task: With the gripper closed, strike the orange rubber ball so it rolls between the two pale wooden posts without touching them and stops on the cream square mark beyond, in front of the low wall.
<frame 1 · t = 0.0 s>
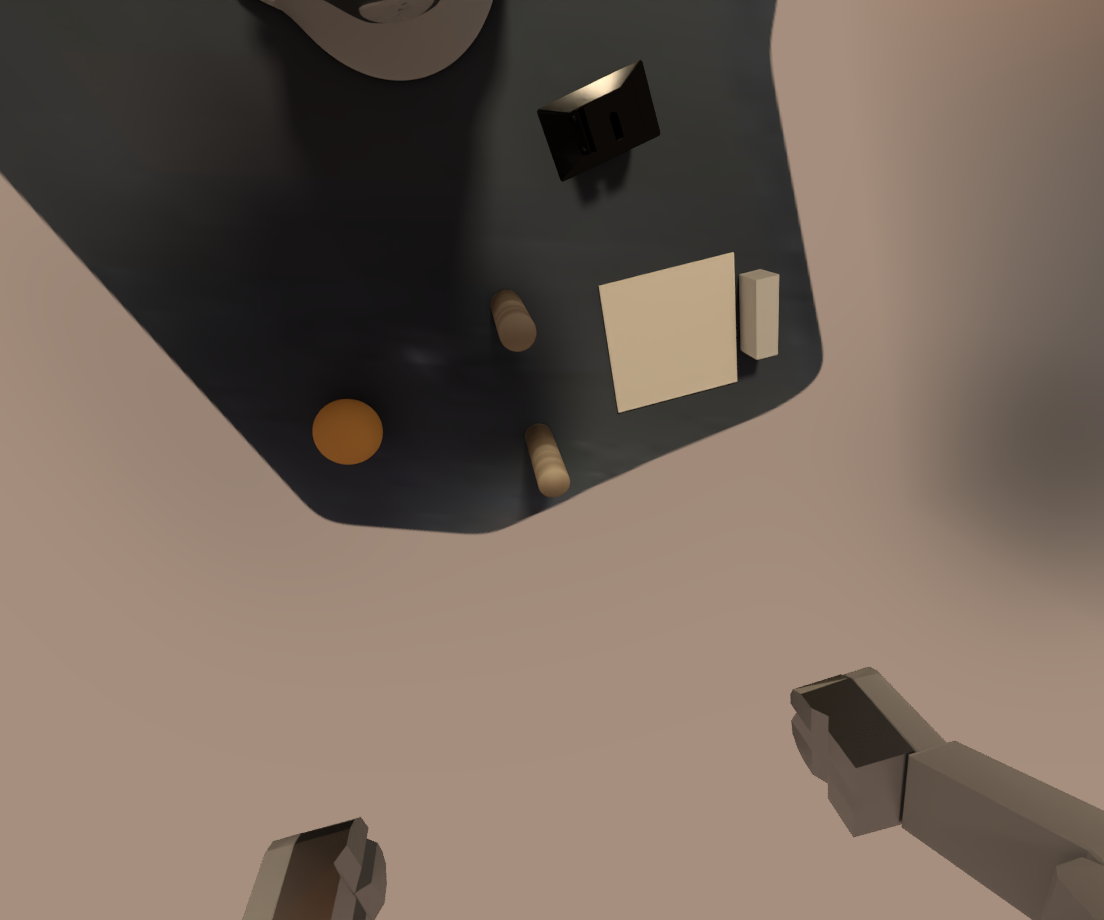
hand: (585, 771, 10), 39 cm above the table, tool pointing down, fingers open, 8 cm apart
dark slotted block: (597, 123, 39), on the table
post 2: (538, 435, 50), on the table
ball: (348, 431, 43), on the table
post 1: (506, 305, 43), on the table
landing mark: (672, 336, 47), on the table
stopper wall: (750, 311, 47), on the table
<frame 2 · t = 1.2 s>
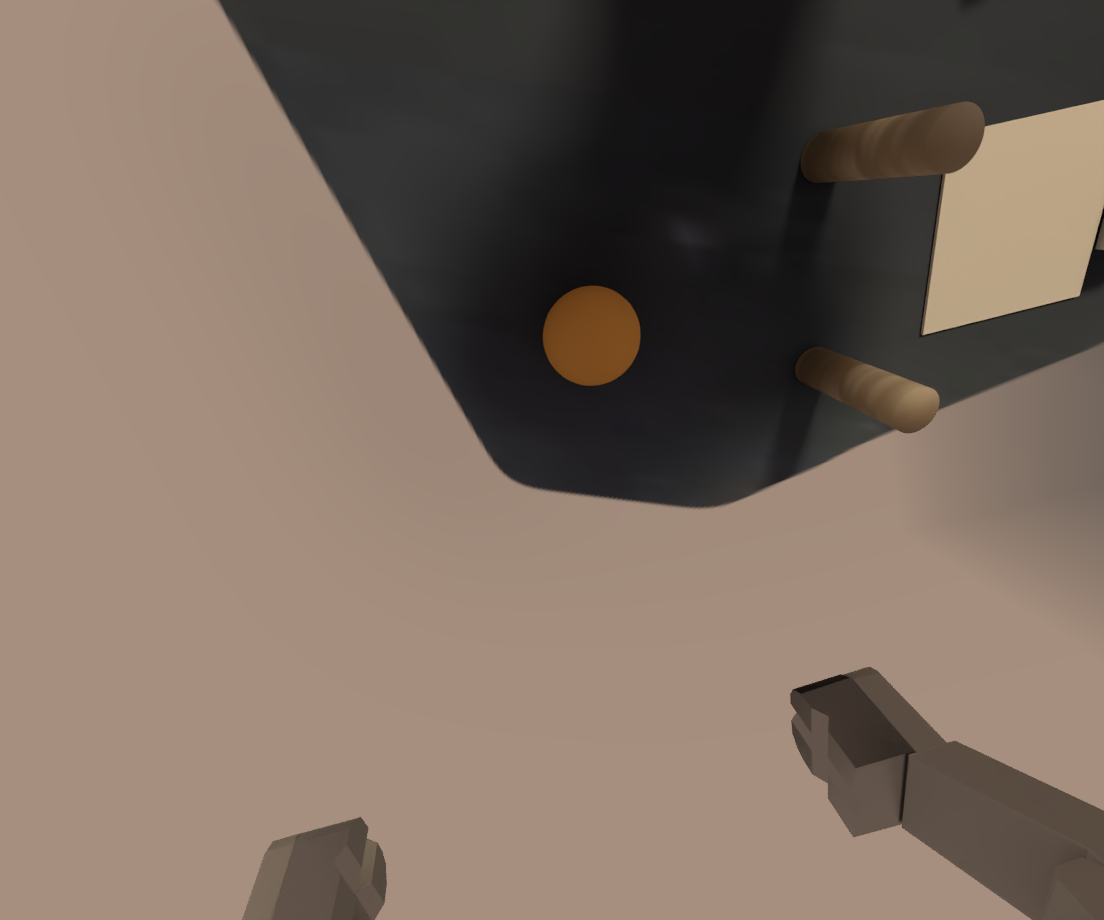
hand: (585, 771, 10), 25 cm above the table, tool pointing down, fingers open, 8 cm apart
post 2: (812, 365, 36), on the table
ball: (591, 336, 29), on the table
post 1: (821, 157, 30), on the table
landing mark: (1018, 222, 34), on the table
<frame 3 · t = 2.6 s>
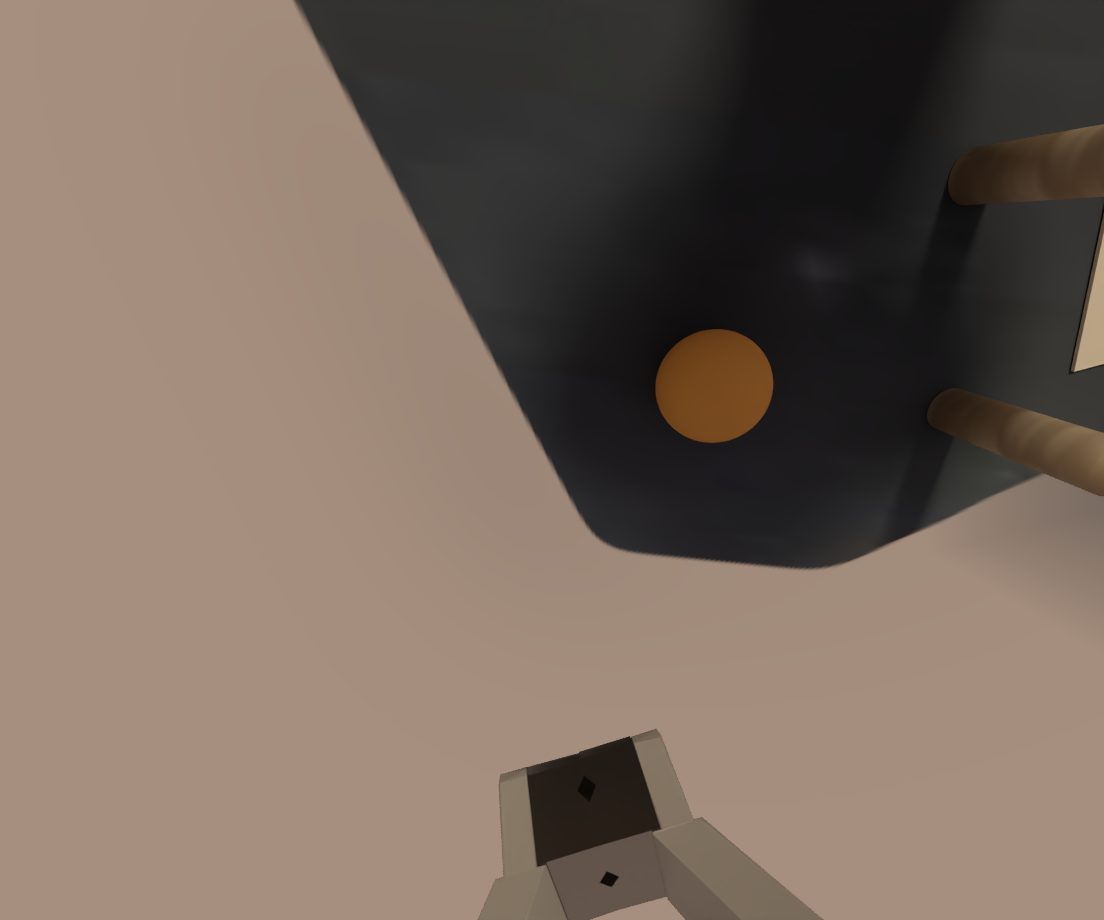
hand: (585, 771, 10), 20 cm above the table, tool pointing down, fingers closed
post 2: (947, 408, 31), on the table
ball: (712, 386, 25), on the table
post 1: (972, 176, 26), on the table
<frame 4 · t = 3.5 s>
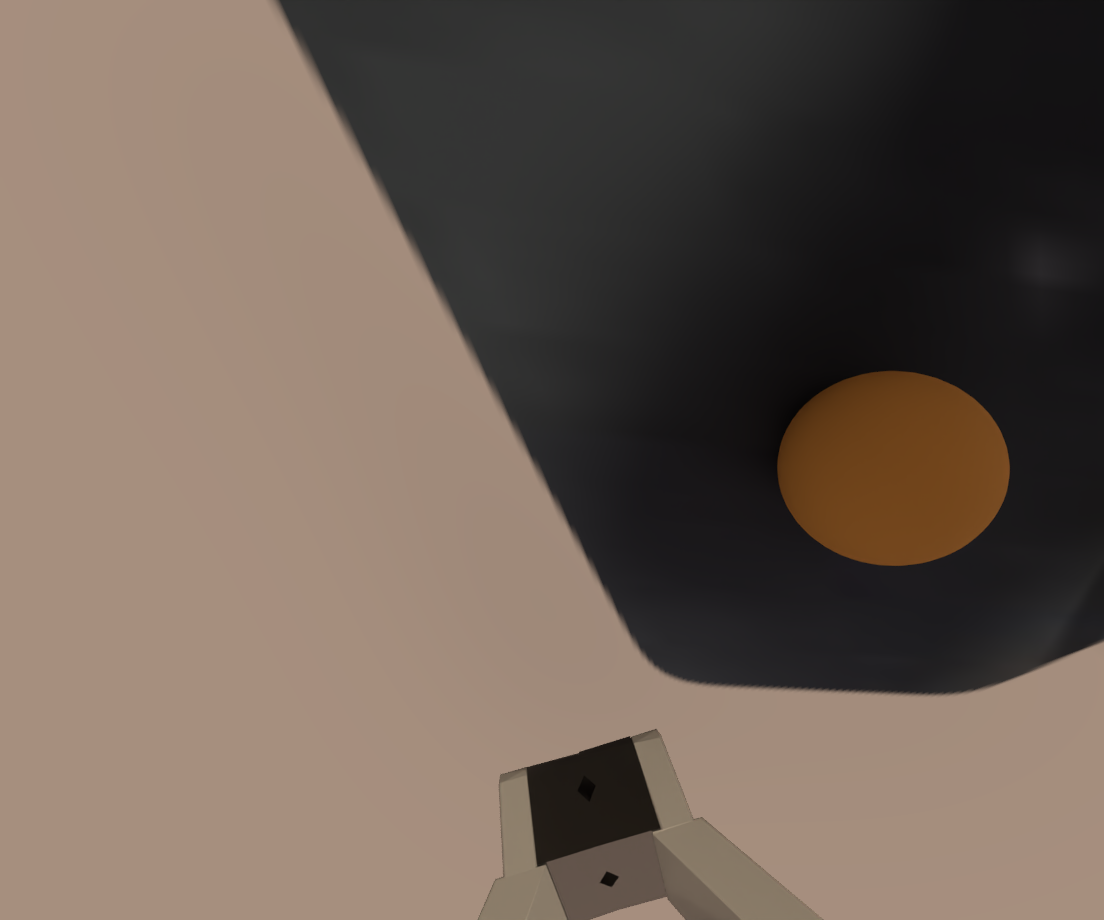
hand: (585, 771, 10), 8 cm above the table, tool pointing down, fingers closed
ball: (881, 468, 15), on the table
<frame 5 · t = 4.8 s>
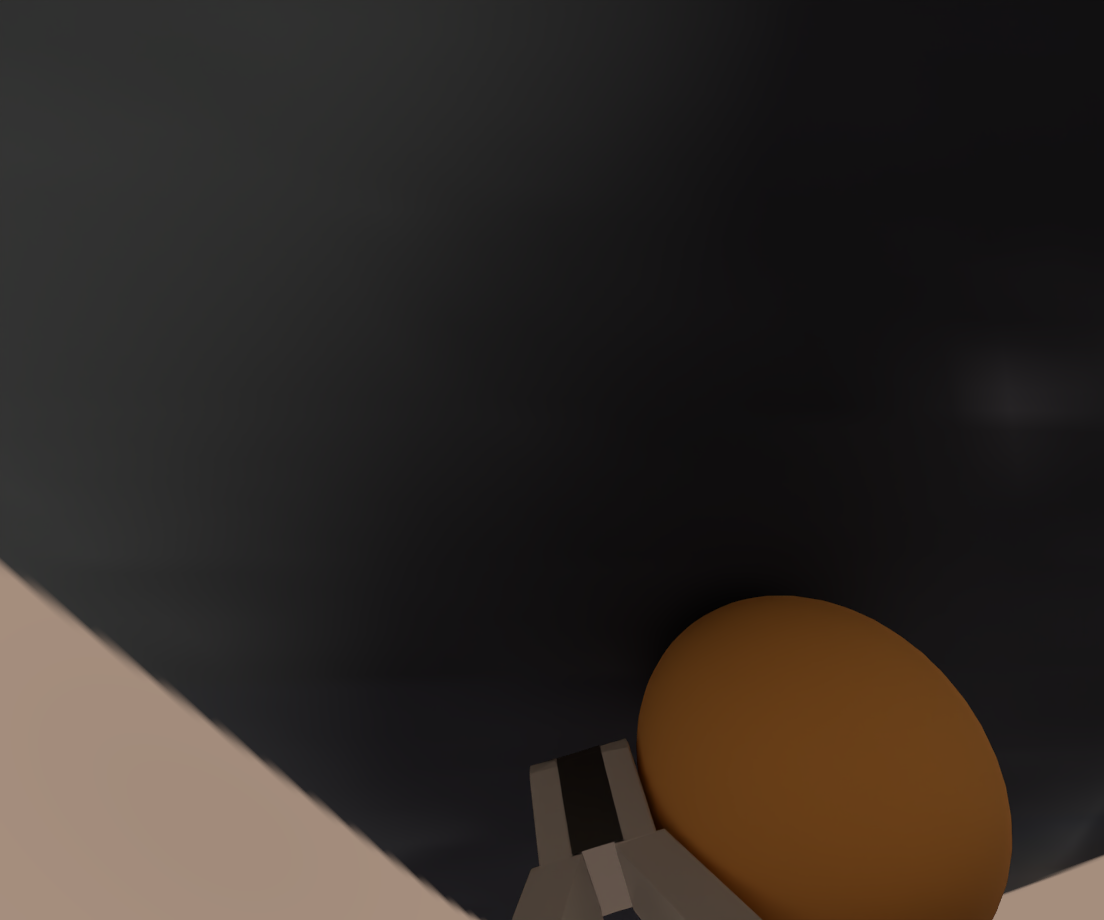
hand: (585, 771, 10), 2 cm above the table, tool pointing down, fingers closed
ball: (798, 760, 9), on the table, touching gripper
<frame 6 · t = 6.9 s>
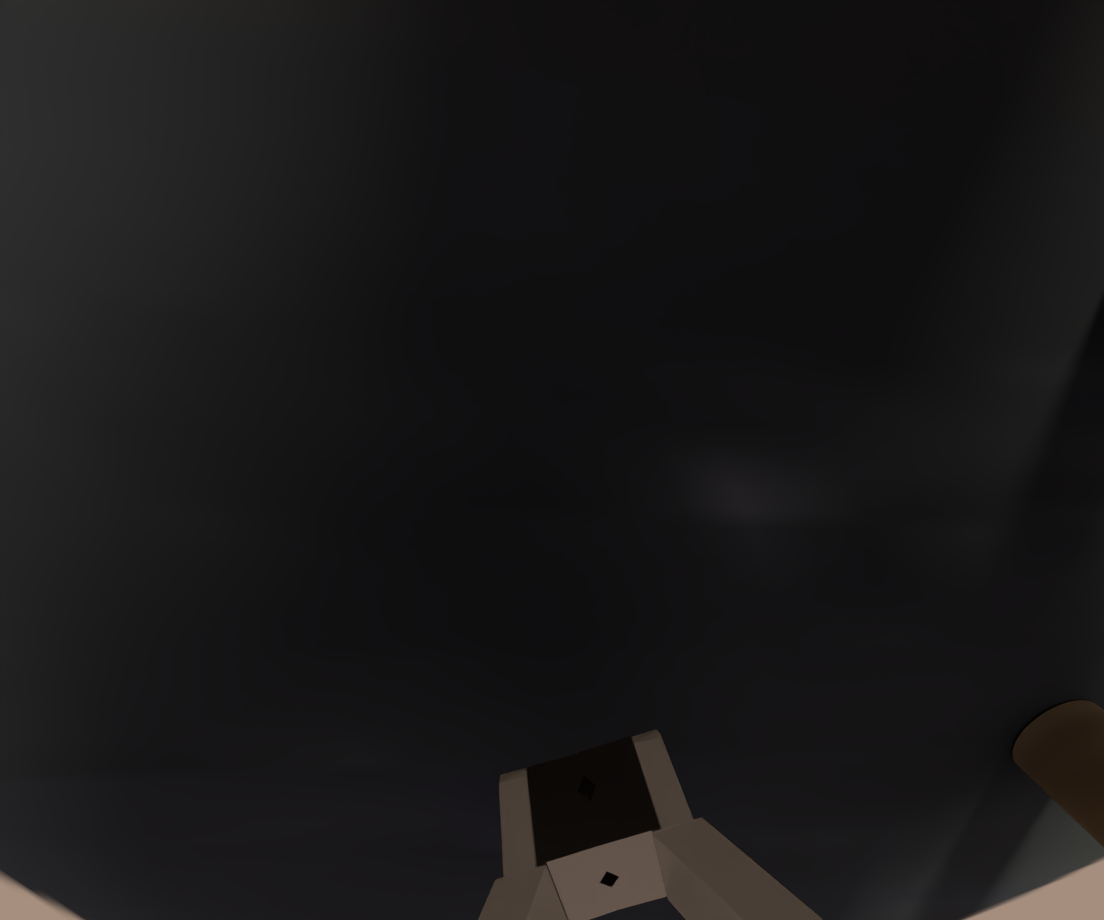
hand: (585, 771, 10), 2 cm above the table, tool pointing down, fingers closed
post 2: (1056, 735, 14), on the table
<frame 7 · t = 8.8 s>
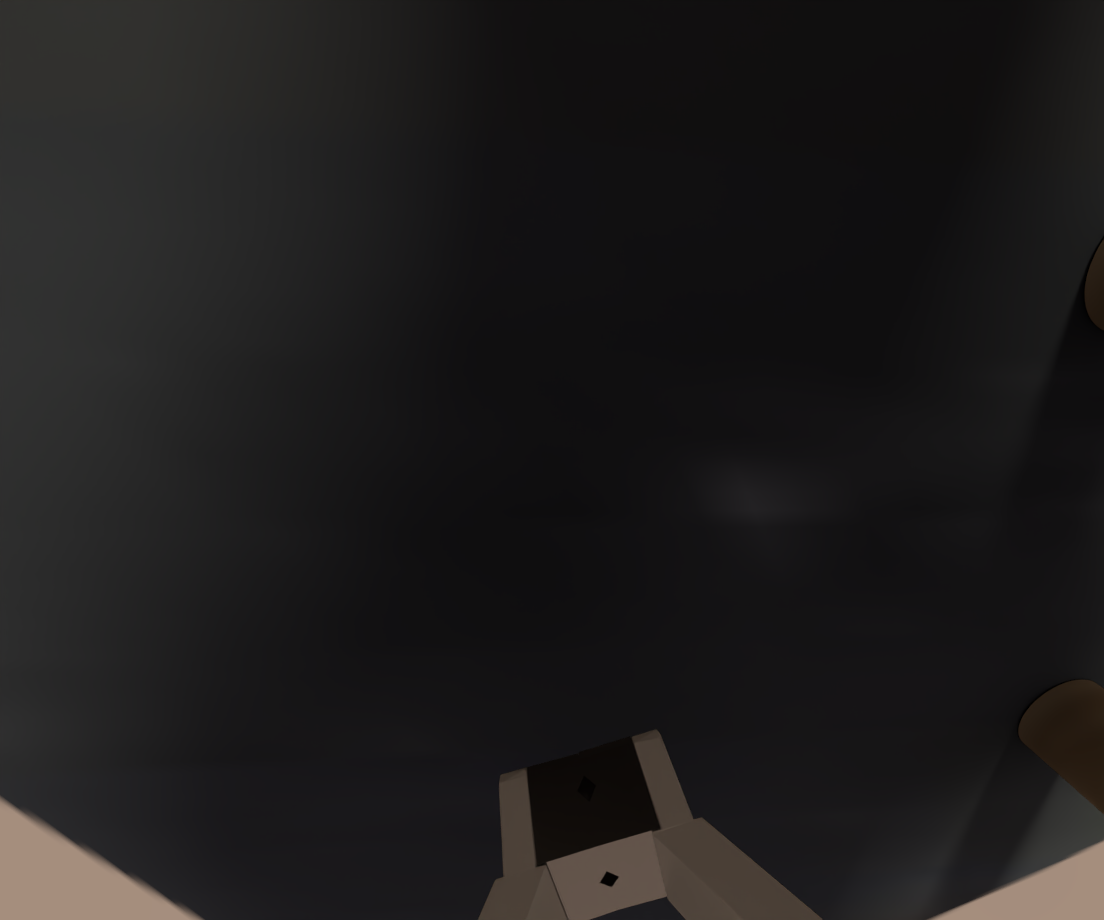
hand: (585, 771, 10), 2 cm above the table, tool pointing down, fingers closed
post 2: (1060, 714, 15), on the table
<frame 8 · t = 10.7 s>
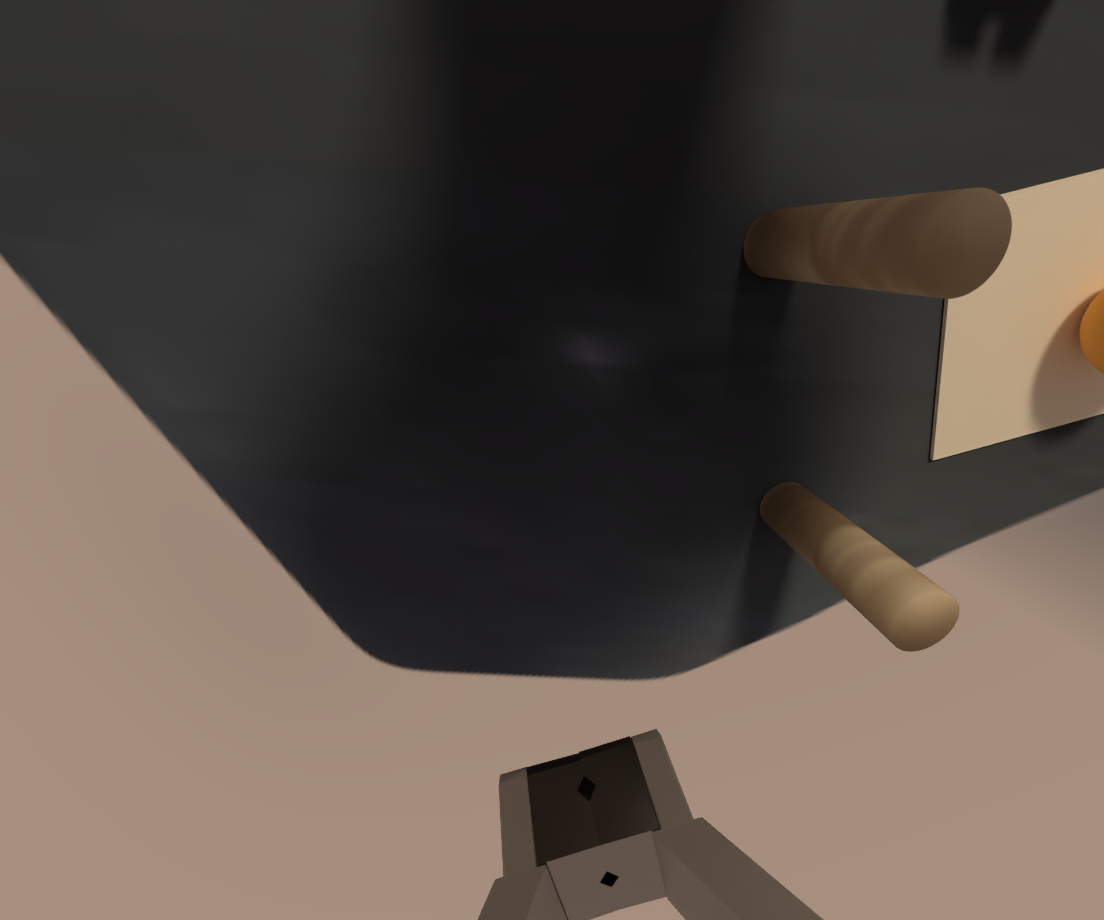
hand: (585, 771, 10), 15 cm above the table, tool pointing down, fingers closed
post 2: (783, 504, 26), on the table
post 1: (773, 244, 21), on the table
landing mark: (1058, 314, 24), on the table
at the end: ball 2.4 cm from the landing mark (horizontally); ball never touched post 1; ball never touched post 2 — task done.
